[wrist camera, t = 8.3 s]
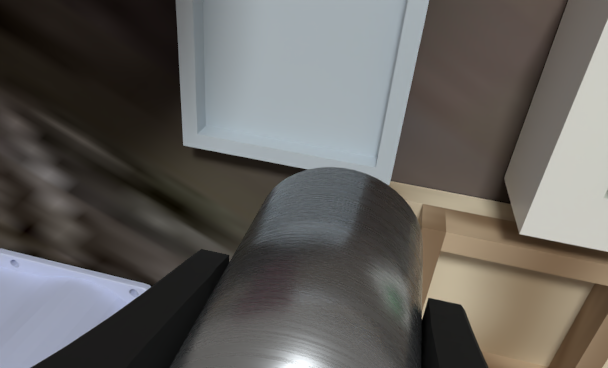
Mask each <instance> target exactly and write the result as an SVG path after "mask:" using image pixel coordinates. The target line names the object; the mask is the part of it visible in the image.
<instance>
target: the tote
mask: <svg viewBox="0 0 608 368" xmlns="http://www.w3.org/2000/svg"><path fill="white" fill-rule="evenodd" d="M428 3H429V0H176V16H177V35H178V54H179V73H180V92H181V111H182V130H183V146H189V147H194V148H199V149H204V150H209V151H215V152H220V153H225V154H230V155H235V156H241V157H246V158H251V159H256V160H261V161H267V162H272V163H277V164H282V165H287V166H293V167H298V168H303V169H314V168H321V167H338V168H346V169H352V170H356V171H359V172H363V173H366V174H368V175H370V176H373V177H375V178H377V179H379V180H381V181H382V182H384V183H386V184H387V185H390V180H391V176H392V171H393V166H394V162H395V157H396V152H397V148H398V143H399V138H400V134H401V129H402V124H403V120H404V115H405V110H406V106H407V101H408V96H409V92H410V87H411V83H412V78H413V73H414V69H415V64H416V59H417V55H418V50H419V45H420V41H421V36H422V31H423V27H424V22H425V17H426V13H427V8H428Z"/></svg>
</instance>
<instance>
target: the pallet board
mask: <svg viewBox="0 0 608 368" xmlns="http://www.w3.org/2000/svg"><path fill="white" fill-rule="evenodd" d="M389 186H390V187H391V188H393V189H394V190H395V191H397V192H398V193H399V194H400V195H401V196H402V197H403V198H404V199H405V201H406V202H407V203H408V204H409V206H410V207H411V208H412V210H413V212H414V214H415V215H416V217H417V220H418V222H419V225H420V228H421V232H422V238H423V276H422V318H423V315H424V311H425V308H426V304H427V301H428V298H432V299H437V300H442V301H446V302H451V303H456V304H460V305H462V307H463V308H464V310H465V312H466V314H467V317H468V320H469V322H470V325H471V327H472V330H473V333H474V335H475V337H476V340H477V342H478V345H479V347H480V349H481V352H482V354H483V356H484V359H485V361H486V363H487V365H488V368H608V252H606V251H601V250H596V249H591V248H586V247H581V246H576V245H571V244H566V243H561V242H556V241H551V240H546V239H541V238H536V237H531V236H526V235H521V234H519V231H518V228H517V224H516V220H515V217H514V213H513V209H512V206H511V204H508V203H503V202H498V201H492V200H487V199H482V198H477V197H471V196H466V195H461V194H456V193H450V192H445V191H440V190H435V189H429V188H424V187H419V186H414V185H408V184H403V183H398V182H393V181H390V185H389Z"/></svg>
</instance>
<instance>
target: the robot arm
mask: <svg viewBox="0 0 608 368" xmlns="http://www.w3.org/2000/svg"><path fill="white" fill-rule="evenodd" d="M228 264H229V255H226V254H221V253H217V252H212V251H207V250H203V249H201V250H200V251H198V252H197V253H195V254H194V255H193V256H191V257H190V258H189V259H187V260H186V261H185V262H183V263H182V264H181V265H179V266H178V267H177V268H175V269H174V270H173V271H172V272H170V273H169V274H168V275H166V276H165V277H164V278H162V279H161V280H160V281H158V282H157V283H156V284H154V285H153V286H152V287H151V286H150V285H148V284H145V283H141V282H137V281H133V280H129V279H125V278H121V277H116V276H112V275H108V274H104V273H100V272H96V271H92V270H88V269H84V268H80V267H75V266H71V265H67V264H63V263H59V262H55V261H51V260H47V259H43V258H38V257H34V256H30V255H26V254H22V253H18V252H14V251H10V250H6V249H1V248H0V368H169V367H170V366H171V364H172V362H173V360H174V359H175V357H176V355H177V353H178V352H179V350H180V348H181V346H182V345H183V343H184V341H185V339H186V338H187V336H188V334H189V332H190V331H191V329H192V327H193V325H194V324H195V322H196V320H197V318H198V317H199V315H200V313H201V311H202V310H203V308H204V306H205V304H206V303H207V301H208V299H209V297H210V296H211V294H212V292H213V290H214V289H215V287H216V285H217V283H218V282H219V280H220V278H221V276H222V275H223V273H224V271H225V269H226V268H227V266H228ZM421 368H488V365H487V363H486V361H485V359H484V356H483V354H482V352H481V349H480V347H479V345H478V342H477V340H476V337H475V335H474V333H473V330H472V327H471V325H470V322H469V320H468V317H467V314H466V312H465V310H464V308H463V307H462V305H460V304H456V303H451V302H446V301H442V300H437V299H432V298H428V301H427V304H426V308H425V311H424V315H423V318H422V343H421Z"/></svg>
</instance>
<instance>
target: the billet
mask: <svg viewBox="0 0 608 368" xmlns="http://www.w3.org/2000/svg"><path fill="white" fill-rule="evenodd" d="M422 276H423V238H422V232H421V228H420V225H419V222H418V220H417V217H416V215H415V214H414V212H413V210H412V208H411V207H410V206H409V204H408V203H407V202H406V201H405V199H404V198H403V197H402V196H401V195H400V194H399V193H398V192H397V191H395V190H394V189H393V188H391V187H390V186H389V185H387V184H386V183H384V182H382V181H381V180H379V179H377V178H375V177H373V176H370V175H368V174H366V173H363V172H359V171H356V170H352V169H346V168H338V167H321V168H314V169H308V170H305V171H302V172H299V173H296V174H294V175H292V176H290V177H288V178H286V179H285V180H283V181H282V182H280V183H279V184H278V185H277V186H276V187H275V188H274V189H273V190H272V191H271V192H270V193H269V195H268V196H267V198H266V199H265V201H264V203H263V204H262V206H261V208H260V210H259V211H258V213H257V215H256V217H255V218H254V220H253V222H252V224H251V225H250V227H249V229H248V231H247V233H246V234H245V236H244V238H243V240H242V241H241V243H240V245H239V247H238V248H237V250H236V252H235V254H234V255H233V257H232V259H231V261H230V262H229V264H228V266H227V268H226V269H225V271H224V273H223V275H222V276H221V278H220V280H219V282H218V283H217V285H216V287H215V289H214V290H213V292H212V294H211V296H210V297H209V299H208V301H207V303H206V304H205V306H204V308H203V310H202V311H201V313H200V315H199V317H198V318H197V320H196V322H195V324H194V325H193V327H192V329H191V331H190V332H189V334H188V336H187V338H186V339H185V341H184V343H183V345H182V346H181V348H180V350H179V352H178V353H177V355H176V357H175V359H174V360H173V362H172V364H171V366H170V367H169V368H421V343H422Z"/></svg>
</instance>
